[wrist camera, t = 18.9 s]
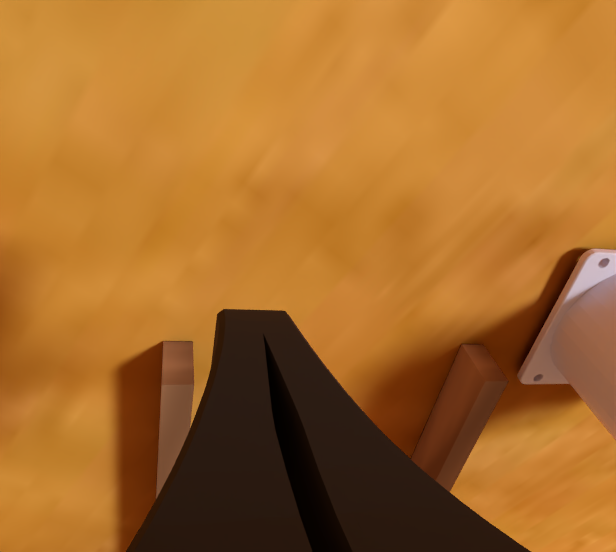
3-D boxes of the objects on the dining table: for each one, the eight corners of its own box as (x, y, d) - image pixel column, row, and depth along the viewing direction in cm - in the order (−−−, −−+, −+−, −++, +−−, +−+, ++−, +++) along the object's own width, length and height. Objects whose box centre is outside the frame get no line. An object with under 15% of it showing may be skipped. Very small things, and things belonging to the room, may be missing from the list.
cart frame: (483, 344, 26) (508, 381, 24) (385, 551, 36) (397, 589, 34) (163, 341, 22) (161, 384, 20) (152, 574, 32) (150, 619, 30)
